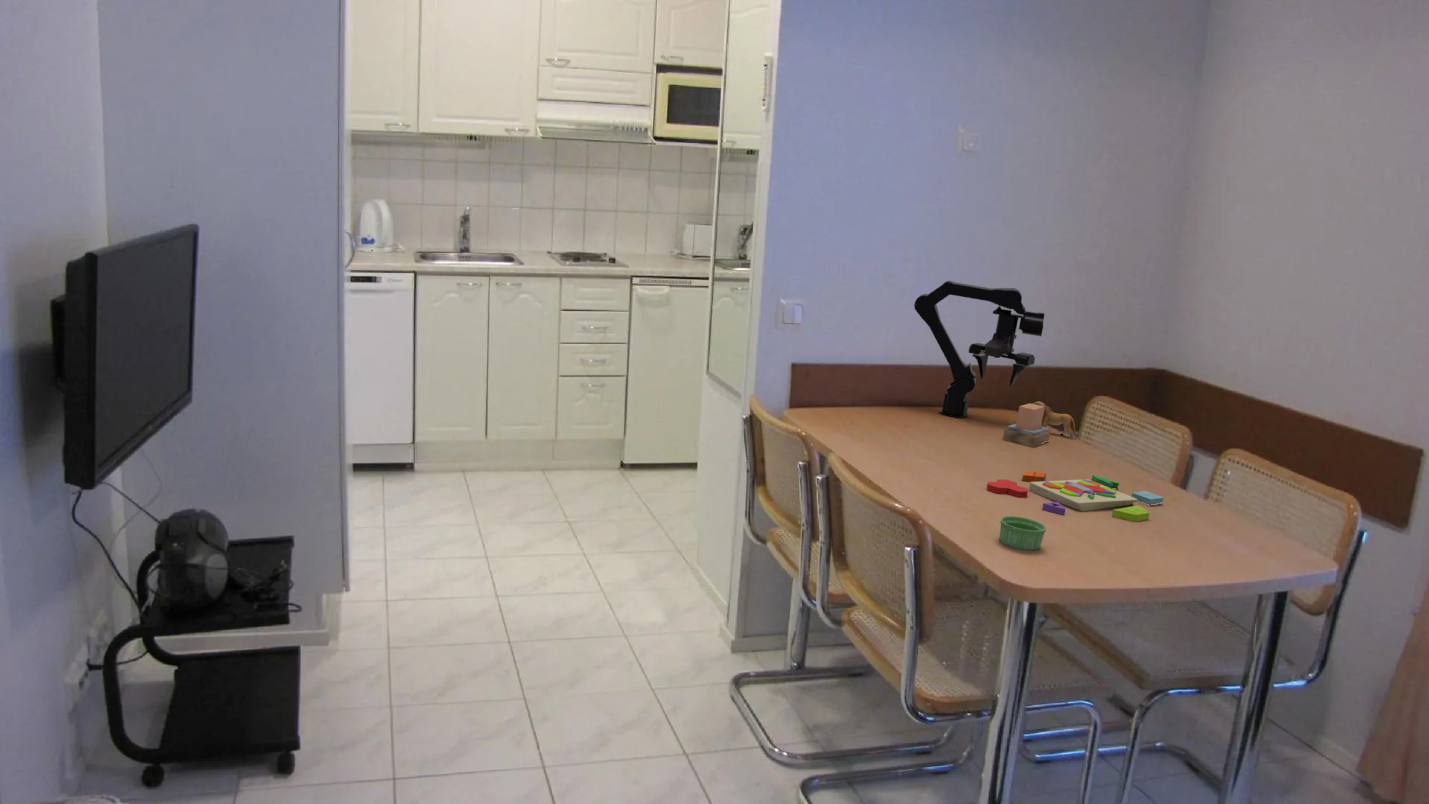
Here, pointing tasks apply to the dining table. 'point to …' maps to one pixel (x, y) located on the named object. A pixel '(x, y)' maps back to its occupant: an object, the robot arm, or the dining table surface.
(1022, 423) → the terracotta brick
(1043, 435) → the base brick
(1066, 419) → the lion figurine
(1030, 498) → the dining table surface
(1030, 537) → the ramekin
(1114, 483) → the pattern blocks set
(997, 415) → the dining table surface
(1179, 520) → the dining table surface
